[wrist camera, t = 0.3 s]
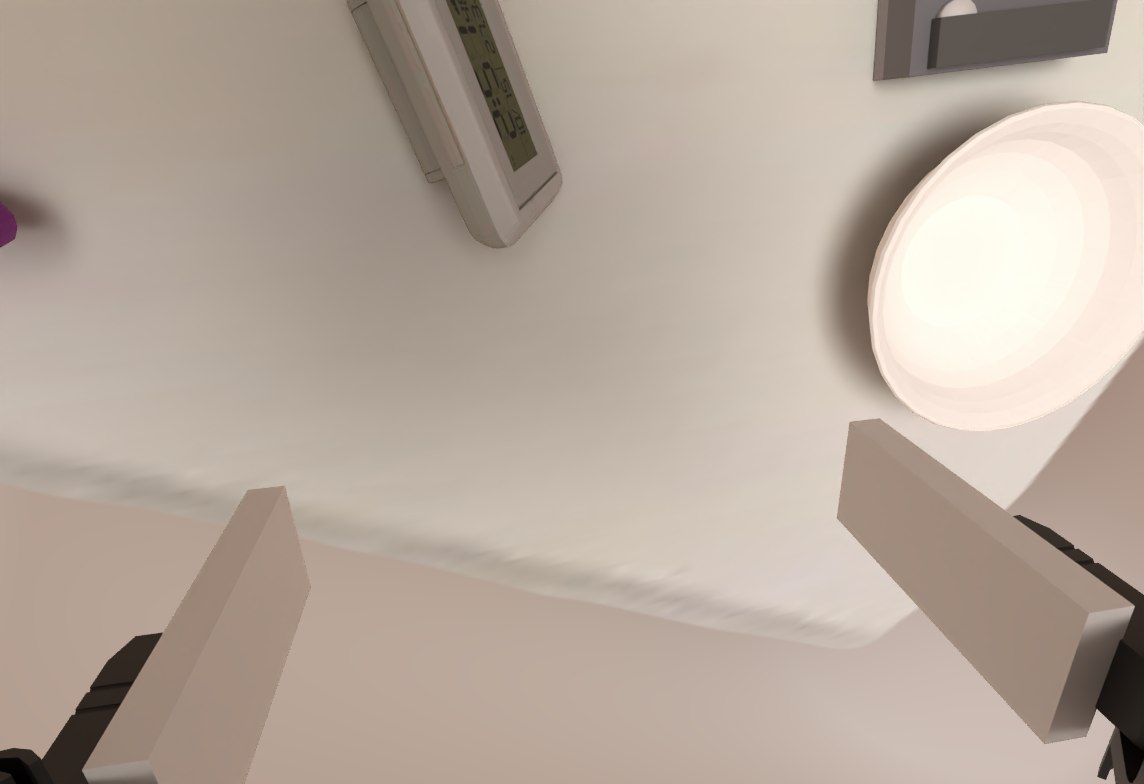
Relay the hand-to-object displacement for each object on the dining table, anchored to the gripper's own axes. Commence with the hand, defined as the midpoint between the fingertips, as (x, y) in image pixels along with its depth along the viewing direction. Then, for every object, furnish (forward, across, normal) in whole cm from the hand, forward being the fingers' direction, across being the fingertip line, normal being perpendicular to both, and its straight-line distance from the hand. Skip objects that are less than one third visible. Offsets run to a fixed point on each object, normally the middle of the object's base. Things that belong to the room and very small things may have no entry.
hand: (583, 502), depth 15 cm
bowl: (+28, +30, -2) cm, 41 cm away
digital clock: (+28, -2, +11) cm, 30 cm away
